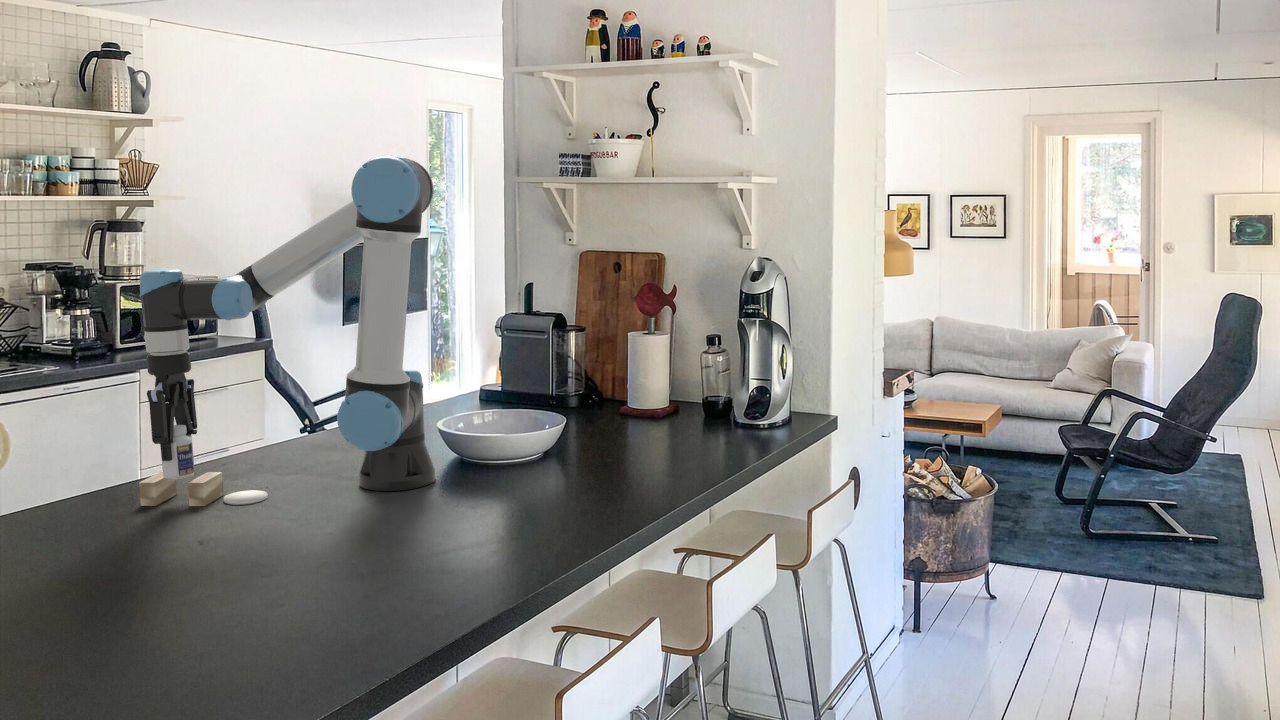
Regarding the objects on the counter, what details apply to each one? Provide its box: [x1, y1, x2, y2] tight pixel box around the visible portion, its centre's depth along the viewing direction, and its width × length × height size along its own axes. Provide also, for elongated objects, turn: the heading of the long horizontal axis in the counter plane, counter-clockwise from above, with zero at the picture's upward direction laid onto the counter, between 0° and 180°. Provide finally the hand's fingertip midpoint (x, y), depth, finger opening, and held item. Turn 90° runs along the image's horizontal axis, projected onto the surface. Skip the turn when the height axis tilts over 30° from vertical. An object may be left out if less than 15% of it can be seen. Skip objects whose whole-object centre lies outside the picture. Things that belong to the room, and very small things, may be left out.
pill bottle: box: [164, 424, 195, 481], centre depth 205 cm, size 5×5×10 cm
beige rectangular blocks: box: [138, 471, 225, 507], centre depth 207 cm, size 12×8×4 cm, turn 86°
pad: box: [223, 489, 269, 506], centre depth 207 cm, size 8×8×1 cm
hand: (179, 472), depth 205 cm, fingers closed on pill bottle, 5 cm apart
